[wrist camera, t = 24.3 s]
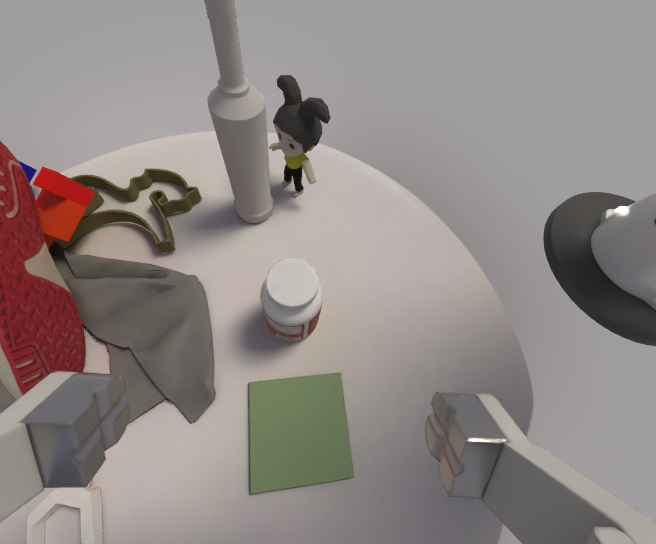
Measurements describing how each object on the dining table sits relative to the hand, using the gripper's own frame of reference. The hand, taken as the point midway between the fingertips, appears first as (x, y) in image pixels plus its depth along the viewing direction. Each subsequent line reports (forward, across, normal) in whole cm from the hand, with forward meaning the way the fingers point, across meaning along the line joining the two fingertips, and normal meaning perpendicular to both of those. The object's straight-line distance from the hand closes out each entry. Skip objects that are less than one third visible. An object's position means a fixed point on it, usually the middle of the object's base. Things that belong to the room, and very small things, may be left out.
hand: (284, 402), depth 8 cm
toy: (+41, +2, -2) cm, 41 cm away
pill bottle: (+27, +1, +12) cm, 29 cm away
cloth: (+26, +17, +13) cm, 33 cm away
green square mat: (+18, -1, +20) cm, 27 cm away
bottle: (+38, +7, +1) cm, 38 cm away
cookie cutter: (+34, +23, +1) cm, 41 cm away
